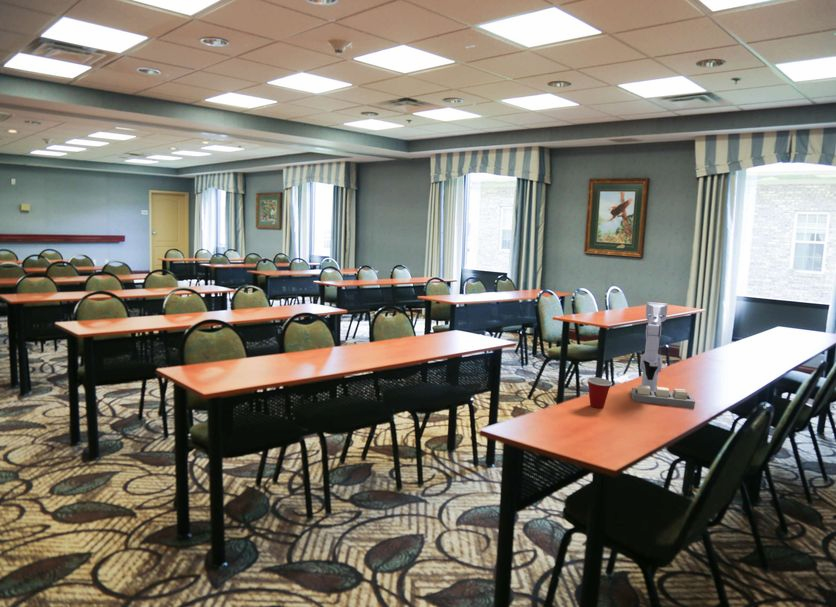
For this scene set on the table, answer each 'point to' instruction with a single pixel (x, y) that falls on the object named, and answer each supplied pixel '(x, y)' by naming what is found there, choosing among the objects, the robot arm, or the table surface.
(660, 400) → the puzzle board
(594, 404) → the plastic cup
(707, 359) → the table surface
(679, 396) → the loose block
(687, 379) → the table surface
